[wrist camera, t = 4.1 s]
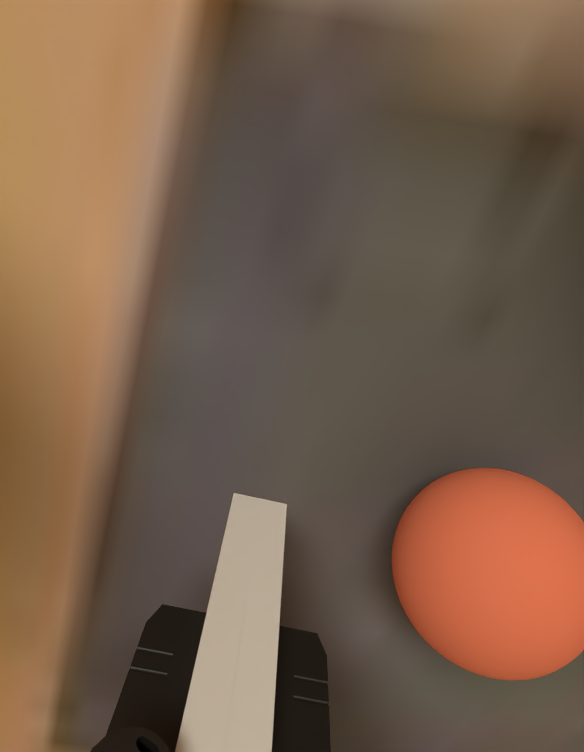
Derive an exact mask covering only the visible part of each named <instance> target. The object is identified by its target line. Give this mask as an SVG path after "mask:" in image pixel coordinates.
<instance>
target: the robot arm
mask: <svg viewBox="0 0 584 752" xmlns="http://www.w3.org/2000/svg"><path fill="white" fill-rule="evenodd" d="M286 508H287V504H283V503H279V502H274V501H269V500H264V499H260V498H255V497H250V496H246V495H241V494H236V493H234V494H233V499H232V503H231V507H230V512H229V516H228V520H227V525H226V529H225V533H224V538H223V542H222V546H221V551H220V555H219V559H218V564H217V568H216V572H215V577H214V581H213V586H212V590H211V594H210V599H209V603H208V608H207V612H206V613H204V612H198V611H193V610H188V609H183V608H178V607H173V606H168V605H163V604H162V605H161V607H160V608H159V609H158V610H157V611H156V612H155V613H154V614H153V615H152V616H151V618H150V619H149V620H148V621H147V622H146V624H145V627H144V630H143V633H142V635H141V638H140V641H139V644H138V647H137V650H136V652H135V655H134V658H133V661H132V663H131V667H130V670H129V672H128V675H127V678H126V680H125V683H124V686H123V689H122V692H121V694H120V697H119V700H118V703H117V706H116V708H115V711H114V714H113V717H112V720H111V723H110V725H109V728H108V731H107V734H106V736H105V737H104V738H103V739H102V740H101V741H100V742H99V743H98V744H97V745H96V746H94V747H93V748H92V750H91V752H331V749H330V724H329V706H328V701H329V699H328V685H327V681H328V674H327V655H326V653H325V651H324V648H323V646H322V644H321V641H320V639H319V637H318V634H317V633H312V632H307V631H302V630H297V629H292V628H287V627H282V626H279V623H280V606H281V590H282V574H283V557H284V541H285V525H286Z"/></svg>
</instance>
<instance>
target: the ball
mask: <svg viewBox="0 0 584 752" xmlns="http://www.w3.org/2000/svg"><path fill="white" fill-rule="evenodd" d="M392 572H393V579H394V583H395V588H396V591H397V594H398V597H399V600H400V602H401V604H402V607H403V609H404V611H405V613H406V615H407V617H408V618H409V620H410V621H411V623H412V624H413V626H414V627H415V629H416V630H417V631H418V633H419V634H420V635H421V636H422V637H423V638H424V639H425V640H426V642H427V643H428V644H429V645H430V646H431V647H432V648H433V649H435V650H436V651H437V652H438V653H440V654H441V655H442V656H444V657H445V658H446V659H448V660H449V661H451V662H452V663H454V664H456V665H458V666H460V667H462V668H463V669H466V670H468V671H470V672H472V673H475V674H479V675H482V676H485V677H489V678H494V679H500V680H526V679H533V678H537V677H541V676H544V675H547V674H550V673H552V672H554V671H556V670H558V669H560V668H562V667H563V666H565V665H566V664H568V663H569V662H571V661H572V660H573V659H575V658H576V657H577V656H578V655H579V654H580V653H581V652H582V651H583V650H584V522H583V521H582V519H581V518H580V516H579V515H578V514H577V513H576V512H575V511H574V510H573V509H572V508H571V507H570V506H569V504H568V503H567V502H566V501H565V500H563V499H562V498H561V497H560V496H558V495H557V494H556V493H555V492H553V491H552V490H551V489H549V488H548V487H546V486H544V485H543V484H541V483H539V482H537V481H535V480H533V479H532V478H529V477H527V476H524V475H522V474H518V473H515V472H512V471H508V470H503V469H496V468H472V469H465V470H460V471H456V472H453V473H450V474H448V475H445V476H443V477H441V478H439V479H437V480H435V481H433V482H432V483H430V484H429V485H428V486H426V487H425V488H424V489H423V490H422V491H420V492H419V493H418V494H417V495H416V497H415V498H414V499H413V500H412V501H411V502H410V503H409V505H408V506H407V508H406V509H405V511H404V513H403V515H402V517H401V519H400V521H399V523H398V526H397V529H396V532H395V536H394V540H393V547H392Z"/></svg>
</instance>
